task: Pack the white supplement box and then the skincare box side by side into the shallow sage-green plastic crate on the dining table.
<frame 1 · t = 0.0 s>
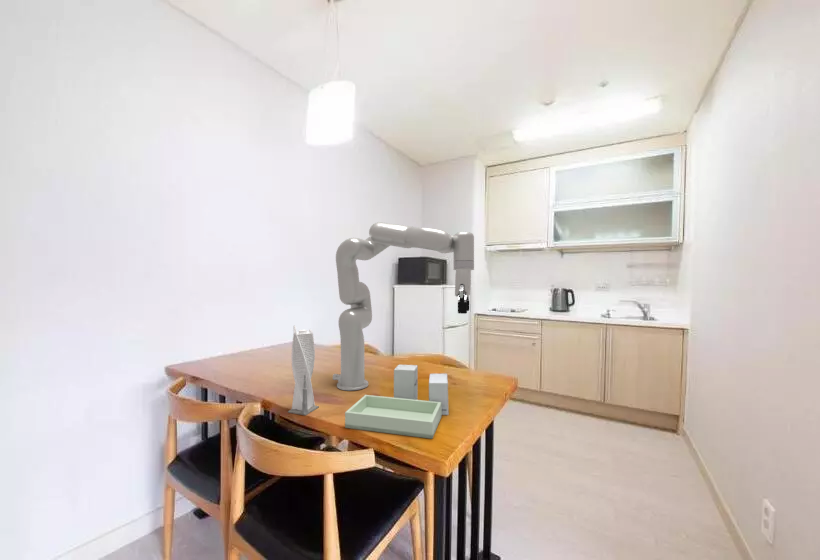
hand: (463, 312, 121), 31 cm above the table, fingers open, 9 cm apart
supplement box: (406, 403, 115), on the table
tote: (395, 421, 99), on the table
skincare box: (438, 409, 110), on the table
skyscraper: (302, 409, 110), on the table
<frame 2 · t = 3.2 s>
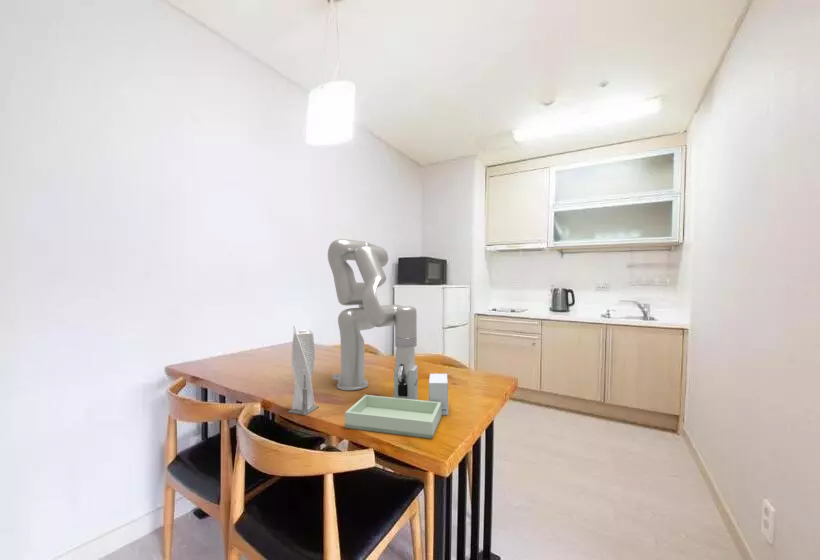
hand: (406, 391, 115), 4 cm above the table, fingers closed on supplement box, 7 cm apart
supplement box: (406, 403, 115), on the table, touching gripper
everything else where it was.
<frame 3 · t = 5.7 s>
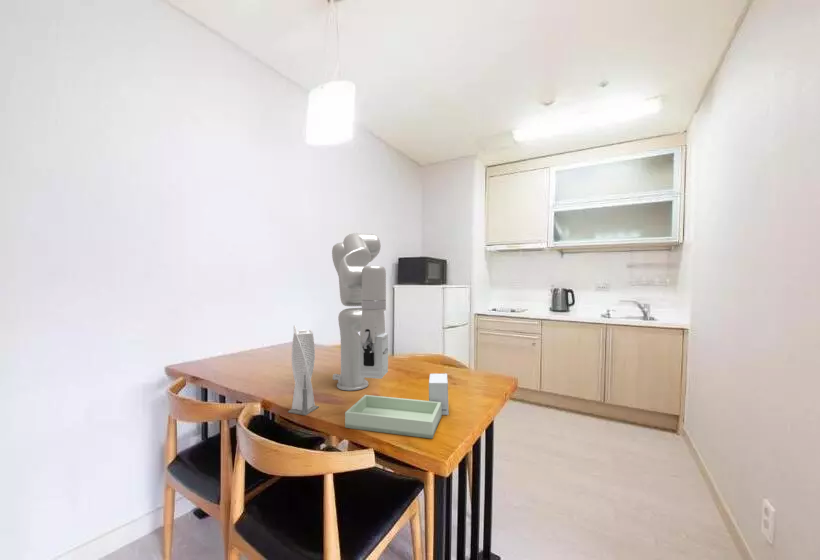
hand: (373, 362, 101), 18 cm above the table, fingers closed on supplement box, 7 cm apart
supplement box: (374, 375, 101), point 14 cm above the table, touching gripper
everything else where it was.
when the fingers open (7 cm above the table, at t = 8.3 s): supplement box drops 2 cm, resting on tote.
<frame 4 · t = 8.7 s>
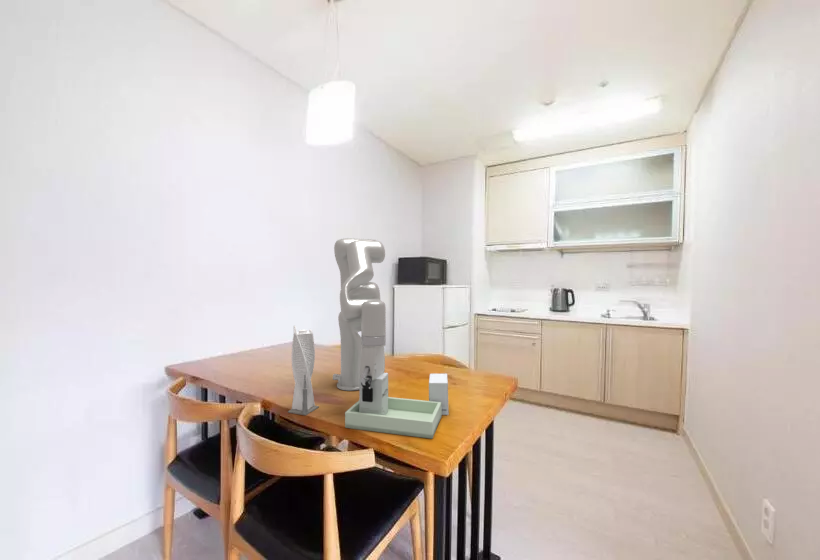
hand: (373, 395, 101), 7 cm above the table, fingers open, 9 cm apart
supplement box: (374, 416, 102), point 1 cm above the table, touching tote
everything else where it was.
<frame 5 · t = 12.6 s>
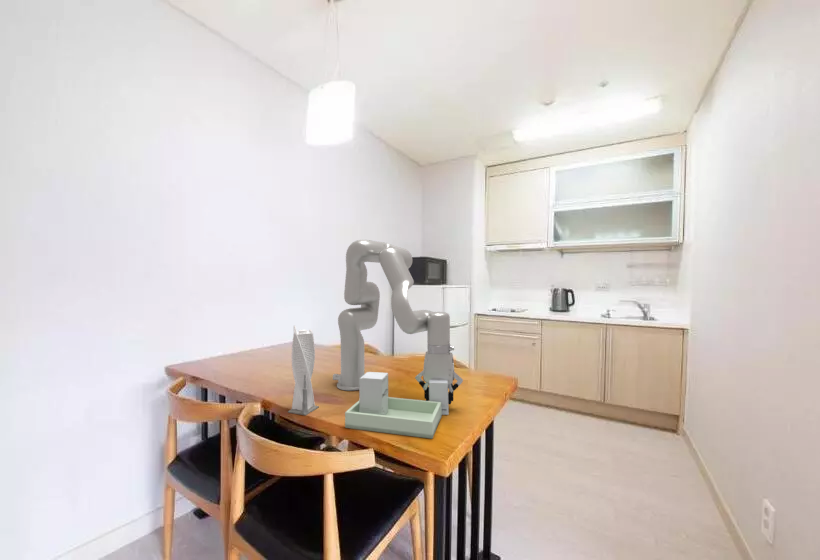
hand: (438, 401, 110), 2 cm above the table, fingers closed on skincare box, 7 cm apart
skincare box: (438, 409, 110), on the table, touching gripper
everything else where it was.
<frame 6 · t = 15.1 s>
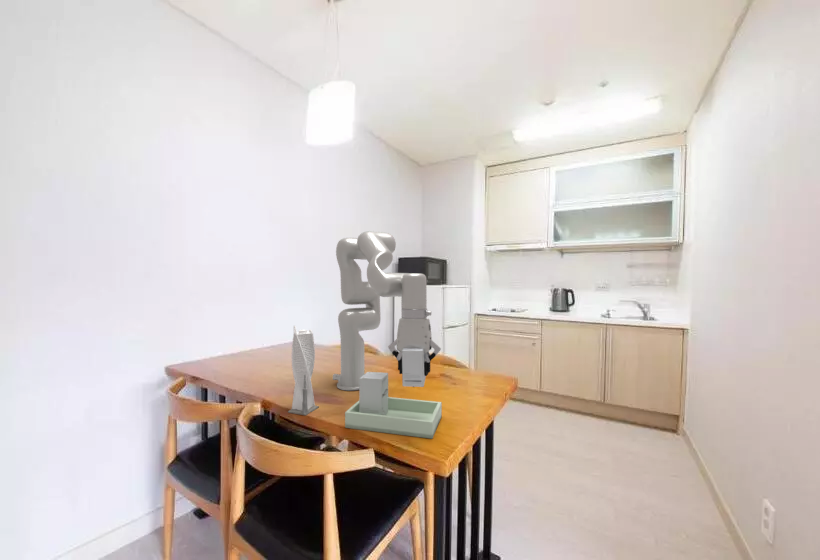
hand: (414, 373, 98), 15 cm above the table, fingers closed on skincare box, 7 cm apart
skincare box: (414, 381, 98), point 13 cm above the table, touching gripper
everything else where it was.
when the fingers open (5 cm above the table, at t = 17.4 s): skincare box drops 2 cm, resting on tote.
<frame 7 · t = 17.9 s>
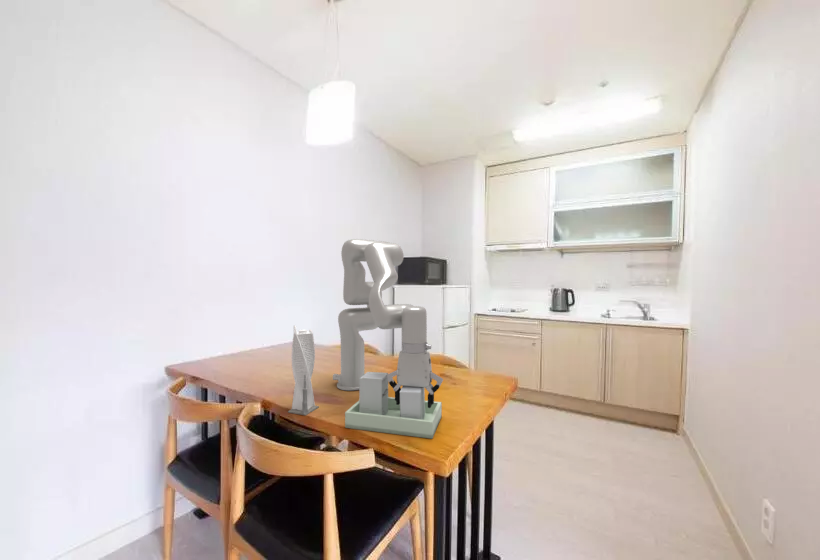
hand: (414, 404, 98), 6 cm above the table, fingers open, 9 cm apart
skincare box: (412, 421, 98), point 1 cm above the table, touching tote
everything else where it was.
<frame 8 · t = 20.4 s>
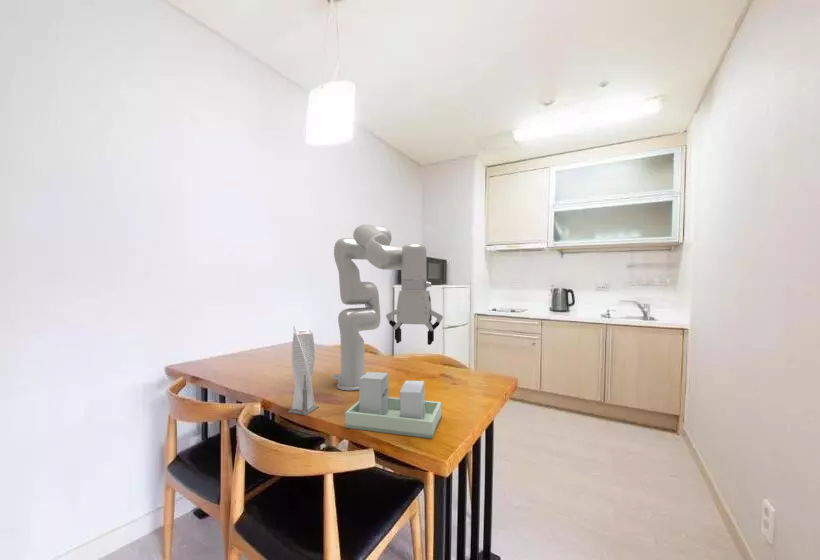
hand: (414, 343, 98), 24 cm above the table, fingers open, 9 cm apart
nothing on the table moved.
at the end: supplement box inside the target area on the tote (7.0 cm from its centre), point 0.8 cm above the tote's base; skincare box inside the target area on the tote (5.5 cm from its centre), point 0.8 cm above the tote's base; supplement box tilted 0° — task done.
